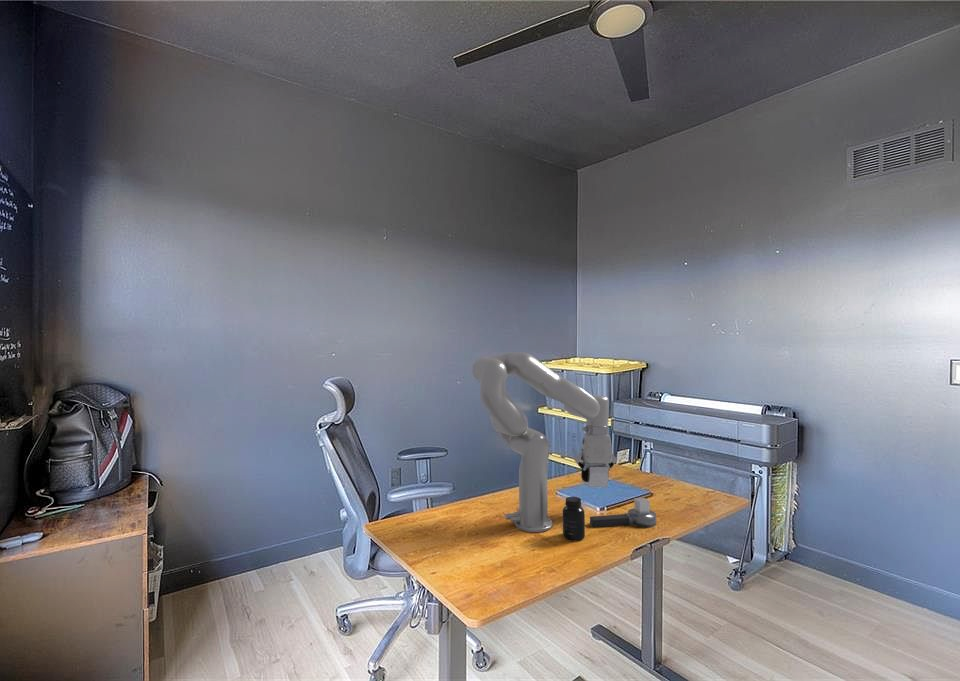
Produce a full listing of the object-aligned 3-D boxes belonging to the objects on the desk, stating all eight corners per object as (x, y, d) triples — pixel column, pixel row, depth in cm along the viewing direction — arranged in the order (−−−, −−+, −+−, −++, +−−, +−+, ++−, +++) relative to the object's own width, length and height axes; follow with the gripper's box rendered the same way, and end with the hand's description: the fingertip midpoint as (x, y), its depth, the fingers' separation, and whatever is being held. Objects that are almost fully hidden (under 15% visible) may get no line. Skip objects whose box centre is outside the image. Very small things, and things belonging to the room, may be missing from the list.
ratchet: (597, 531, 148) (597, 508, 148) (586, 520, 157) (586, 498, 157) (661, 526, 152) (661, 503, 152) (647, 515, 161) (647, 494, 161)
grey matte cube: (589, 487, 158) (590, 467, 158) (581, 481, 165) (582, 461, 165) (607, 487, 159) (608, 466, 159) (599, 481, 166) (600, 461, 166)
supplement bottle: (567, 530, 149) (566, 493, 149) (587, 535, 145) (587, 497, 145) (559, 538, 143) (559, 500, 143) (580, 543, 140) (580, 504, 139)
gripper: (577, 432, 157) (575, 484, 157) (624, 432, 160) (622, 484, 160) (569, 428, 164) (567, 477, 164) (615, 428, 167) (613, 477, 167)
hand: (594, 480), depth 162 cm, fingers closed on grey matte cube, 6 cm apart
